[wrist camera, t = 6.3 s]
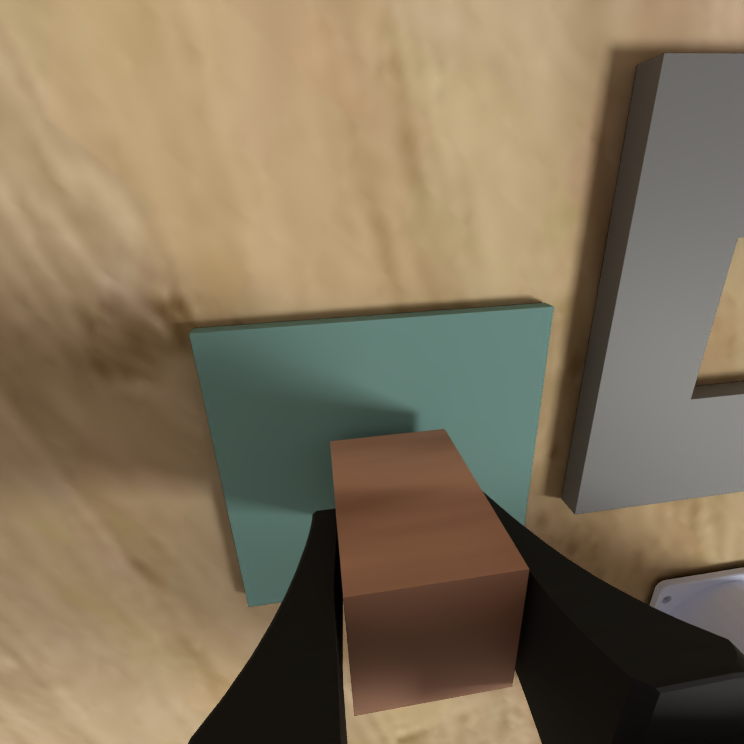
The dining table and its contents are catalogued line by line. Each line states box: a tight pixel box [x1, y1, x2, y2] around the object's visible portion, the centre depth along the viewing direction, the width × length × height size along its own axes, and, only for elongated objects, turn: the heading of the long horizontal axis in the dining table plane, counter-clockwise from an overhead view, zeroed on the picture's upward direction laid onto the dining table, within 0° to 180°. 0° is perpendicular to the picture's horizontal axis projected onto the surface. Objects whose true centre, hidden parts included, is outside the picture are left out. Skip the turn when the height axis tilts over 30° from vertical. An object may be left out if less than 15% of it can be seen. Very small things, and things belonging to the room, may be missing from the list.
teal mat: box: [189, 303, 554, 607], centre depth 16 cm, size 12×12×1 cm
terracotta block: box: [330, 429, 529, 716], centre depth 12 cm, size 4×4×6 cm
